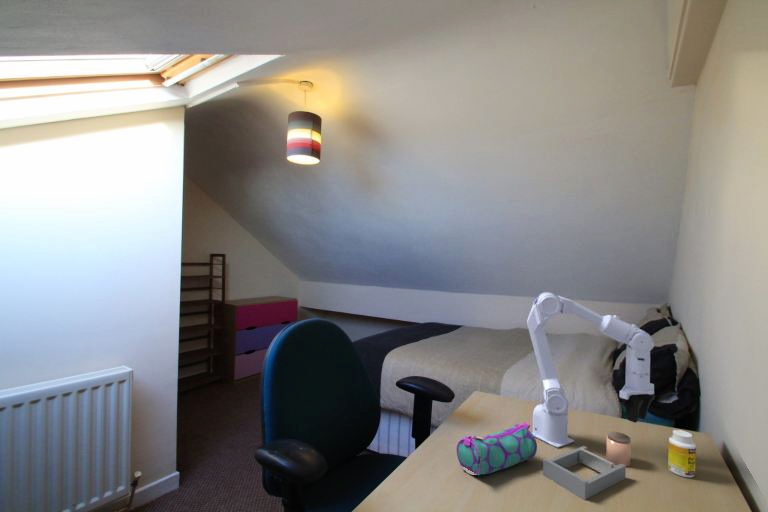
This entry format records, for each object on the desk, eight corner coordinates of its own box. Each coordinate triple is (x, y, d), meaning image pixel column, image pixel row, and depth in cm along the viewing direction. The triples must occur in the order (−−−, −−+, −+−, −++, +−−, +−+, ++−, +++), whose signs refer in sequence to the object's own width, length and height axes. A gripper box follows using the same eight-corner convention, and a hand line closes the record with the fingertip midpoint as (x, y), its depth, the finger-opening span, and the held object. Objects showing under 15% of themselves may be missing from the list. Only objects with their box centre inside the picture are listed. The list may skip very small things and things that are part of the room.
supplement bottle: (690, 481, 95) (691, 440, 95) (664, 470, 99) (665, 431, 99) (698, 474, 98) (699, 434, 98) (673, 464, 102) (673, 426, 102)
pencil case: (478, 486, 91) (479, 446, 91) (455, 467, 99) (455, 430, 99) (538, 465, 101) (539, 429, 101) (513, 449, 109) (513, 416, 109)
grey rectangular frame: (543, 474, 96) (543, 459, 96) (583, 457, 105) (583, 443, 105) (584, 499, 87) (585, 482, 87) (625, 478, 95) (625, 462, 95)
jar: (601, 458, 104) (602, 434, 104) (613, 453, 107) (613, 429, 107) (623, 468, 100) (623, 443, 100) (634, 463, 102) (635, 438, 102)
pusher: (579, 461, 102) (579, 448, 102) (581, 460, 102) (581, 448, 102) (611, 478, 94) (611, 464, 94) (613, 476, 95) (613, 463, 95)
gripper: (639, 379, 101) (638, 430, 101) (666, 372, 108) (665, 419, 108) (612, 372, 107) (611, 420, 107) (639, 365, 114) (638, 410, 114)
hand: (636, 419), depth 108 cm, fingers open, 4 cm apart
